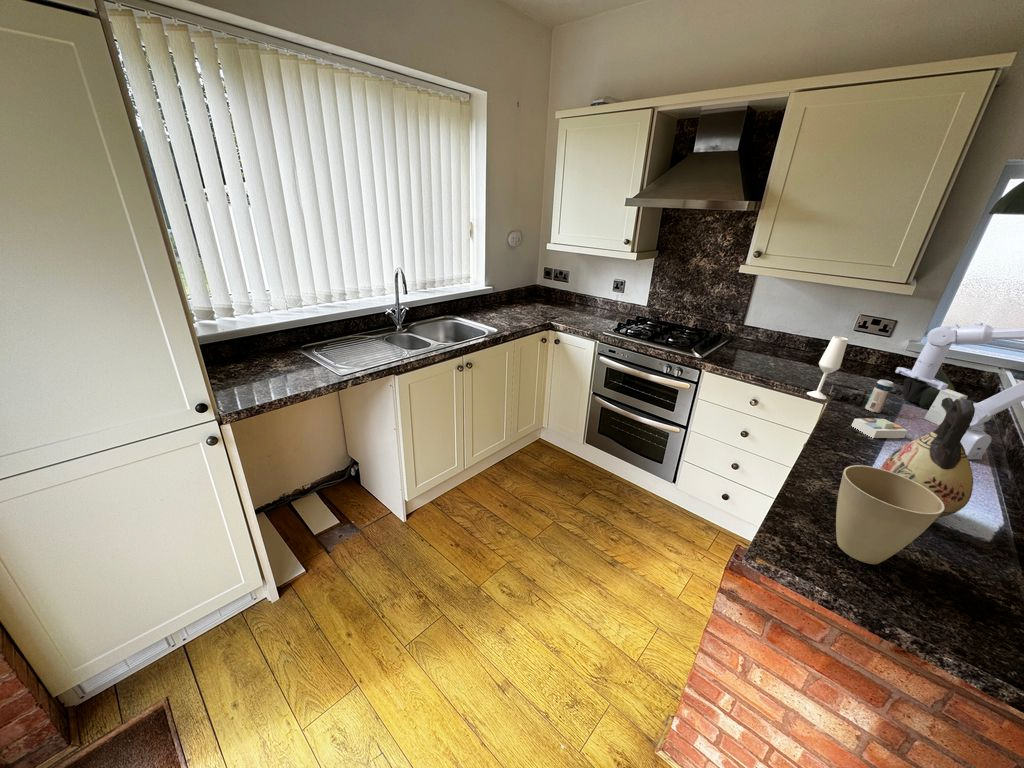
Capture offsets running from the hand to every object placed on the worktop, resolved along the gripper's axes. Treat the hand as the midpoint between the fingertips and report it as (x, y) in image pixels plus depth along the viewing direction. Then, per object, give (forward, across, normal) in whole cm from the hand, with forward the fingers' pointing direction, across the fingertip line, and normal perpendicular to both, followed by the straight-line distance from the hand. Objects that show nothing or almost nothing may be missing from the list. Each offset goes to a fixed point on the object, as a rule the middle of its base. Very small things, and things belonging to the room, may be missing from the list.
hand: (908, 400), depth 138 cm
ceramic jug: (+10, +40, -44) cm, 61 cm away
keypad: (+10, +3, -11) cm, 15 cm away
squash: (+11, -19, +35) cm, 41 cm away
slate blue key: (+9, +4, -15) cm, 18 cm away
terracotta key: (+9, +4, -7) cm, 12 cm away
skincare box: (+11, -4, +23) cm, 26 cm away
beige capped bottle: (+11, -13, +5) cm, 17 cm away
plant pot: (+10, +51, -69) cm, 87 cm away
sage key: (+8, +4, -11) cm, 14 cm away
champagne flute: (+11, -26, -7) cm, 29 cm away
